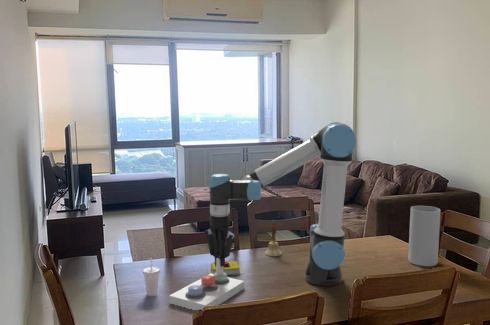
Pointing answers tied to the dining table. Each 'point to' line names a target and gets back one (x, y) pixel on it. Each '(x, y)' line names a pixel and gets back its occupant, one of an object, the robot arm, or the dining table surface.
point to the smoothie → (151, 279)
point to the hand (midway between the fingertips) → (219, 273)
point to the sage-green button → (220, 277)
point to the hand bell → (273, 243)
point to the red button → (208, 280)
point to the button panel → (207, 294)
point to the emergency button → (227, 268)
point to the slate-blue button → (195, 290)
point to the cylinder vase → (424, 235)
